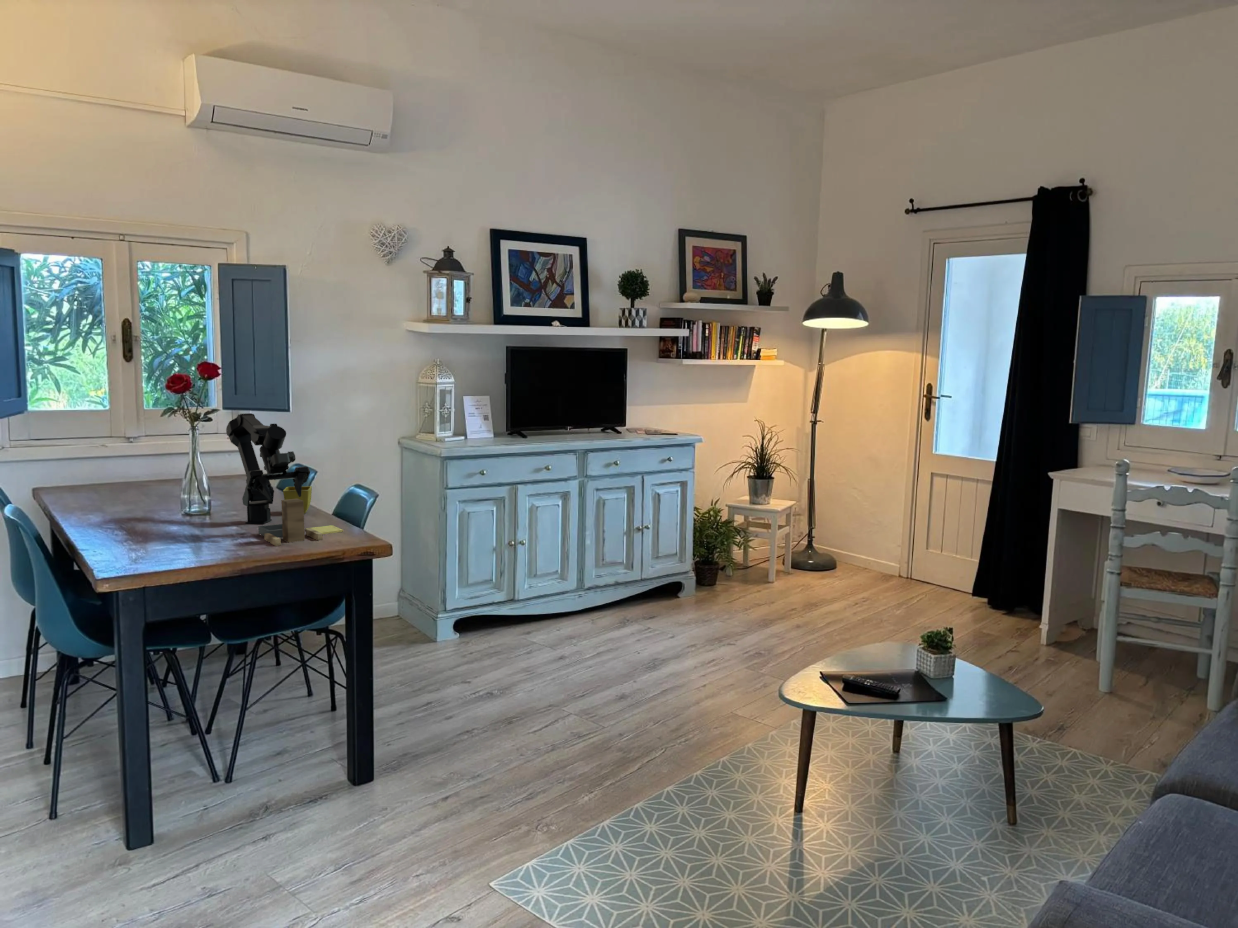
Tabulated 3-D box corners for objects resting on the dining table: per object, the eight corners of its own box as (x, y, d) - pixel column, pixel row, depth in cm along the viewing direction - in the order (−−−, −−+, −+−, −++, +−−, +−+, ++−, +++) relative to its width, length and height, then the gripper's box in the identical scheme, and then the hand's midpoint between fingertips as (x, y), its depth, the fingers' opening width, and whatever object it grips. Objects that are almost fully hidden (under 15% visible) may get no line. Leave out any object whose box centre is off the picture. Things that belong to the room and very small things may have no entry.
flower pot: (283, 515, 317) (282, 490, 316) (287, 510, 325) (286, 486, 324) (309, 515, 319) (308, 490, 317) (312, 510, 327) (312, 486, 326)
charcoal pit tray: (258, 533, 287) (258, 526, 286) (286, 530, 293) (286, 523, 292) (268, 539, 280) (267, 531, 280) (296, 535, 286) (296, 527, 285)
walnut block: (282, 539, 280) (281, 500, 278) (298, 537, 283) (297, 498, 281) (288, 542, 276) (287, 502, 274) (304, 540, 279) (303, 500, 277)
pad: (305, 530, 293) (305, 528, 293) (332, 526, 299) (332, 525, 299) (315, 535, 287) (315, 533, 287) (343, 531, 292) (343, 529, 292)
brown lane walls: (264, 539, 279) (264, 533, 278) (310, 534, 288) (310, 528, 288) (275, 545, 271) (275, 539, 271) (322, 539, 280) (322, 533, 280)
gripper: (247, 445, 278) (260, 484, 271) (307, 441, 290) (321, 479, 283) (240, 467, 285) (253, 506, 278) (299, 463, 297) (312, 500, 290)
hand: (285, 497), depth 282 cm, fingers open, 9 cm apart
